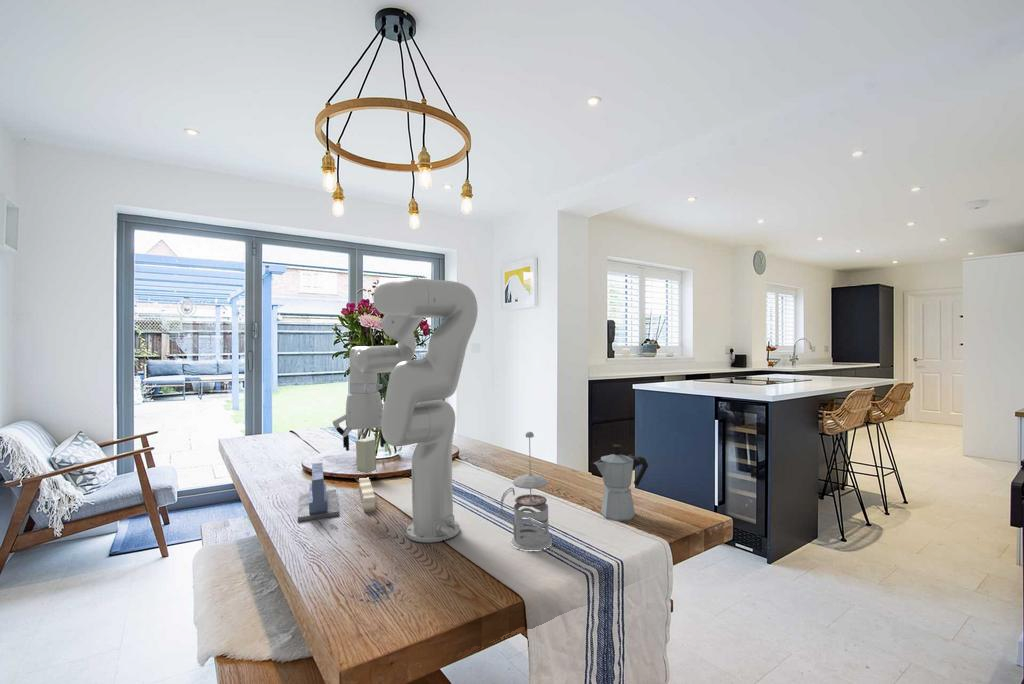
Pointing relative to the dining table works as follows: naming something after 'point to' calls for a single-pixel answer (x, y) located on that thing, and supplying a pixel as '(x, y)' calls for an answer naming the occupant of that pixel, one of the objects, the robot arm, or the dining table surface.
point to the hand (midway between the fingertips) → (364, 448)
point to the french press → (527, 534)
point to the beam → (366, 494)
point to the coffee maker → (619, 484)
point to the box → (366, 455)
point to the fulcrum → (317, 498)
